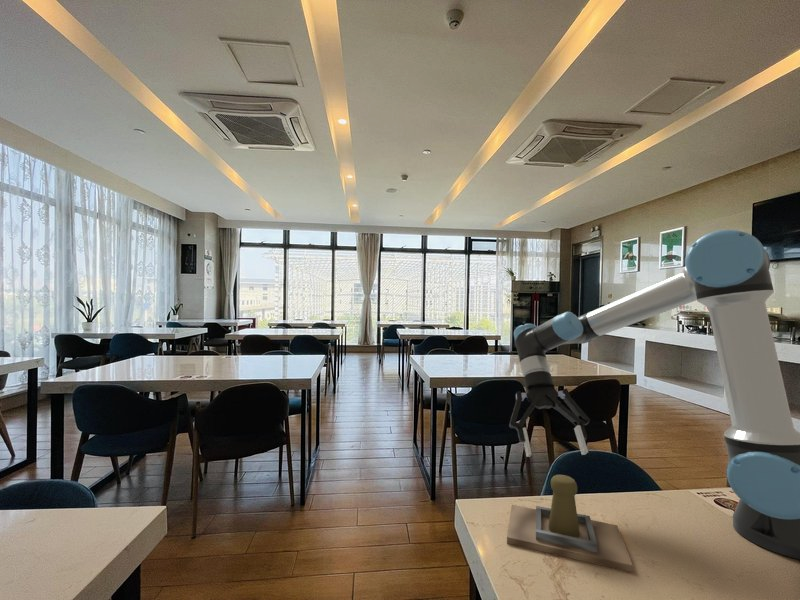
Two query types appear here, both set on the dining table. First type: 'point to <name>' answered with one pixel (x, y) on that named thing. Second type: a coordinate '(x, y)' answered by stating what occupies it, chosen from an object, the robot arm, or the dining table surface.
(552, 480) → the olive pawn shaped shaker
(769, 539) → the robot arm
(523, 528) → the condiment stand
